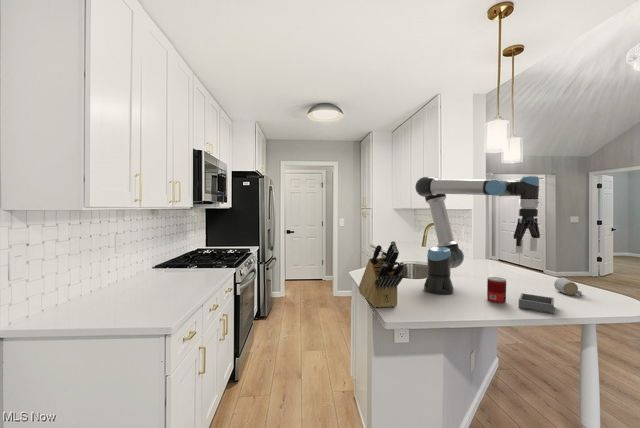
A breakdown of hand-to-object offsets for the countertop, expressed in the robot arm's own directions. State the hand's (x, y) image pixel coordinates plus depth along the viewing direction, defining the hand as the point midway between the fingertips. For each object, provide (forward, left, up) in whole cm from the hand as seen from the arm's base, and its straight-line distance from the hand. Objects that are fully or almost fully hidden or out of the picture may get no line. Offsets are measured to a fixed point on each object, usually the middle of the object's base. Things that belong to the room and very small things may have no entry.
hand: (526, 252), depth 149 cm
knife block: (-55, -46, -24) cm, 76 cm away
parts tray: (+5, -8, -24) cm, 26 cm away
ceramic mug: (+17, +30, -24) cm, 42 cm away
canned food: (-11, -8, -24) cm, 28 cm away
